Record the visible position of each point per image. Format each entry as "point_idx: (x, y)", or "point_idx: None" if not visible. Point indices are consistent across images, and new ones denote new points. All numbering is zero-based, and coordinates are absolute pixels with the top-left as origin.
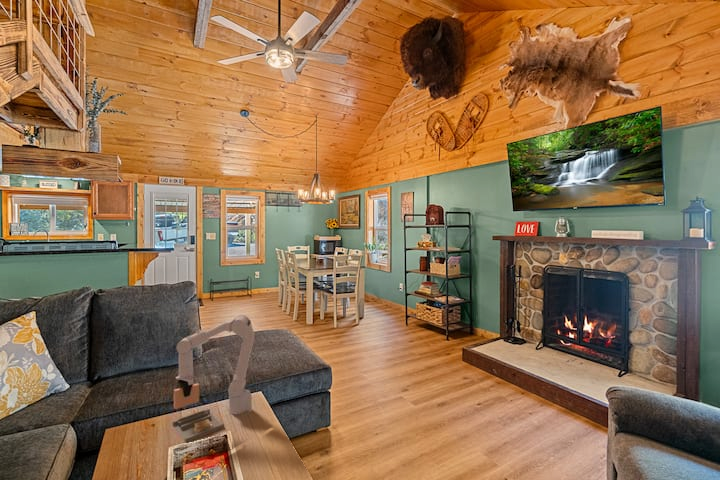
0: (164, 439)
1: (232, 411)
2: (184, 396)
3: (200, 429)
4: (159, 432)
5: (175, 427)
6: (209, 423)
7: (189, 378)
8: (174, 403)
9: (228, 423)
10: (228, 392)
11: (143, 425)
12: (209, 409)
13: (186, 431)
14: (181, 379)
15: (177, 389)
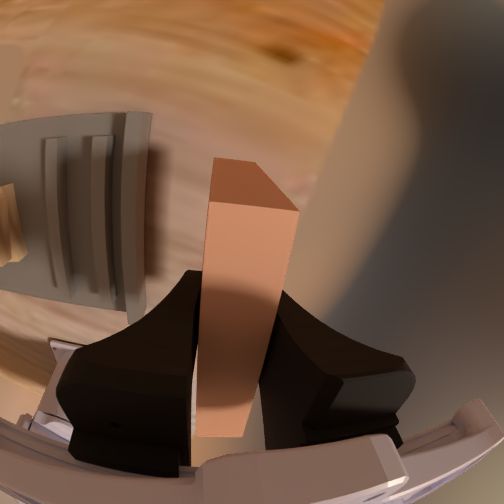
0: (78, 55)
1: (61, 363)
2: (191, 271)
3: None
4: (164, 46)
5: (105, 117)
6: None
7: (19, 498)
8: (234, 166)
9: (31, 314)
10: (20, 426)
11: (322, 26)
12: (128, 322)
13: (32, 154)
14: (106, 484)
15: (254, 257)
